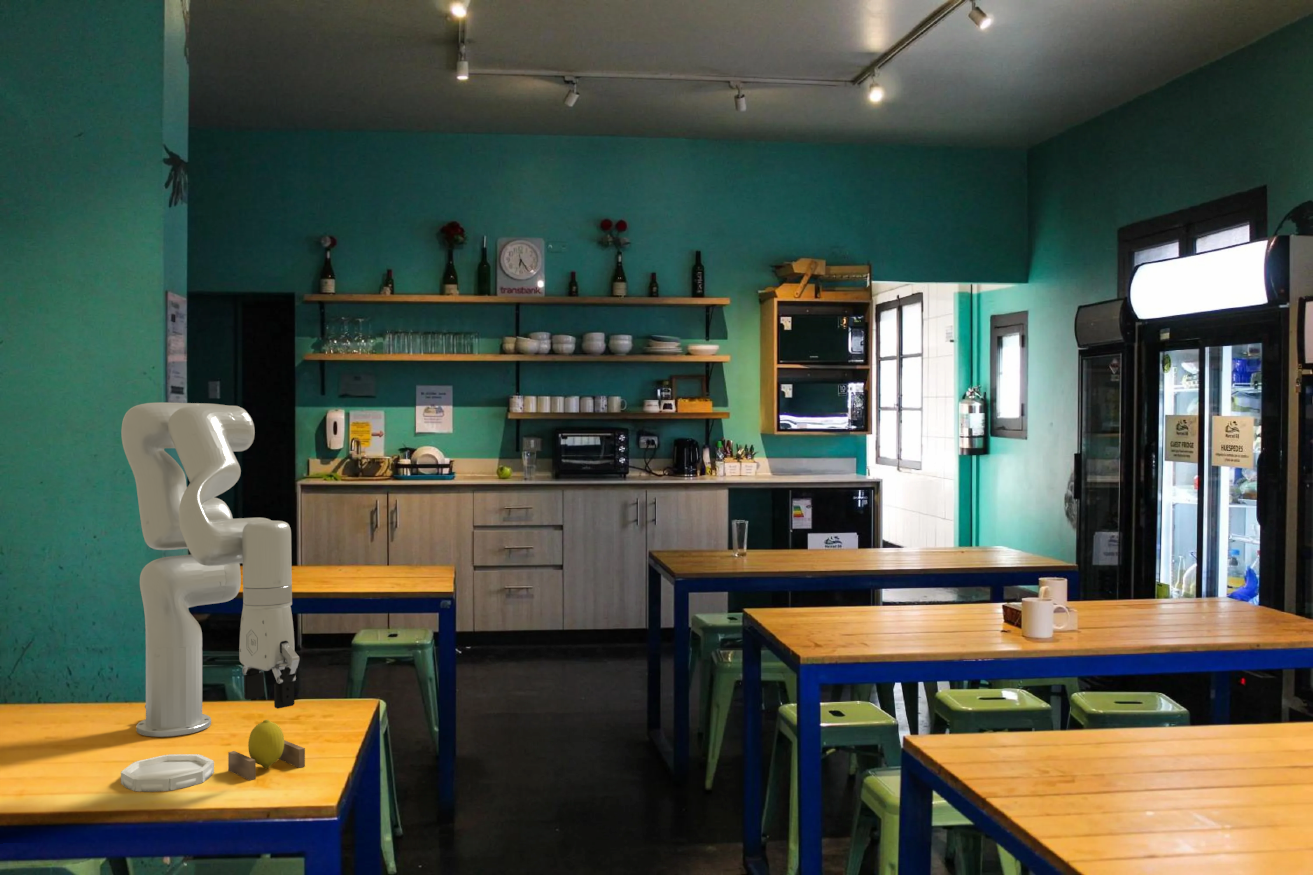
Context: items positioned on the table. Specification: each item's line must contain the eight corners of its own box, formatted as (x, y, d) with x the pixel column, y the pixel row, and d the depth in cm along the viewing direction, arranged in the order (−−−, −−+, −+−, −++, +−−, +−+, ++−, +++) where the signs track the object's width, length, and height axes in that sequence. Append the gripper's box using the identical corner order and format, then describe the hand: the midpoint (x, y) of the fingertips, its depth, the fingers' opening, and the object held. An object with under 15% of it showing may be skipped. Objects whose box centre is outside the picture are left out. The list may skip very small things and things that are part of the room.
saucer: (109, 778, 174) (108, 766, 174) (189, 759, 184) (190, 748, 184) (143, 797, 165) (143, 785, 165) (227, 777, 175) (227, 765, 175)
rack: (228, 770, 178) (228, 752, 178) (283, 757, 185) (283, 739, 185) (249, 780, 173) (249, 761, 173) (304, 766, 180) (304, 748, 180)
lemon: (272, 774, 176) (272, 725, 176) (241, 772, 177) (241, 723, 177) (290, 764, 182) (290, 716, 181) (260, 761, 183) (260, 714, 183)
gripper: (220, 595, 182) (221, 698, 182) (273, 604, 170) (274, 715, 170) (262, 590, 187) (264, 690, 187) (316, 598, 176) (318, 705, 176)
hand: (269, 702), depth 179 cm, fingers open, 9 cm apart
